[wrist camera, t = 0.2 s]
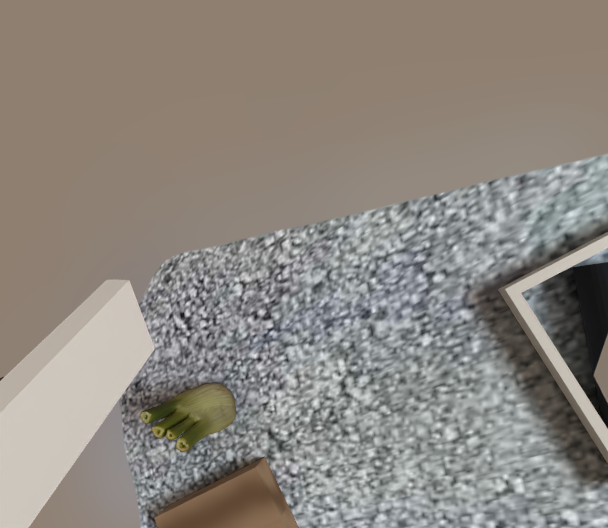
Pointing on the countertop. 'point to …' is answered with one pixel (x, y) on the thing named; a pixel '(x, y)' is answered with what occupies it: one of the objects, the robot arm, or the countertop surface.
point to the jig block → (233, 503)
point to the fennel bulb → (193, 414)
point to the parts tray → (547, 351)
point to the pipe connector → (594, 316)
